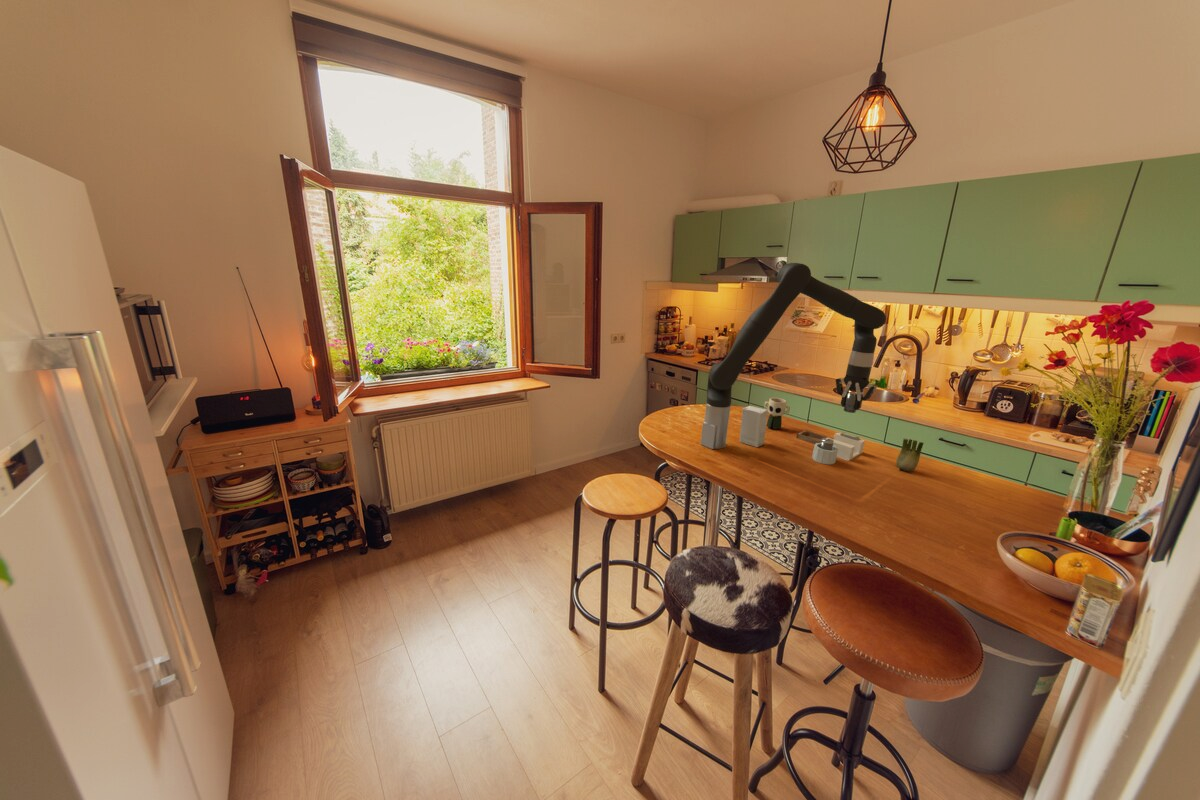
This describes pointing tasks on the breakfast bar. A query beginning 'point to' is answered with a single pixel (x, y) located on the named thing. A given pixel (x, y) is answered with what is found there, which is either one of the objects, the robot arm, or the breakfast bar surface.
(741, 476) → the breakfast bar surface
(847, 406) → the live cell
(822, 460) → the white faceted round pot
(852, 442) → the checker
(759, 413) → the skincare box
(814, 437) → the trough
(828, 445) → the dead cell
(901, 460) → the fennel bulb
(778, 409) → the character mug
